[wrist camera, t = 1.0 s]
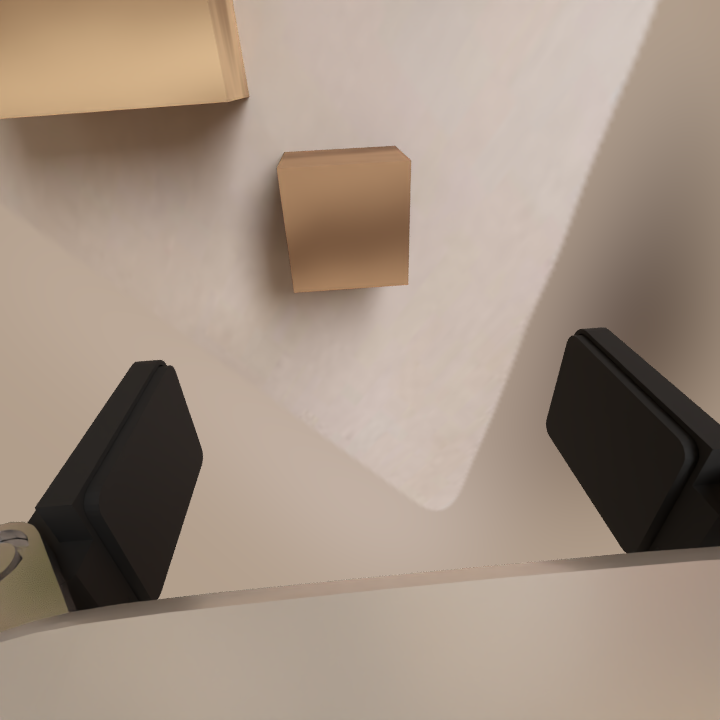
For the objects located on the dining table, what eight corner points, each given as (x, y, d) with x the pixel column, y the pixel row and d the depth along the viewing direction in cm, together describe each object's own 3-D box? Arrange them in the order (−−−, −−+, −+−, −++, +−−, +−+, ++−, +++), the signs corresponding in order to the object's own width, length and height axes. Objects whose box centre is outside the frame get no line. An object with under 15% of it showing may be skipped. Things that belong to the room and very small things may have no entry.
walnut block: (284, 151, 23) (276, 168, 19) (394, 145, 23) (411, 160, 19) (298, 258, 26) (294, 292, 22) (394, 252, 26) (407, 284, 22)
